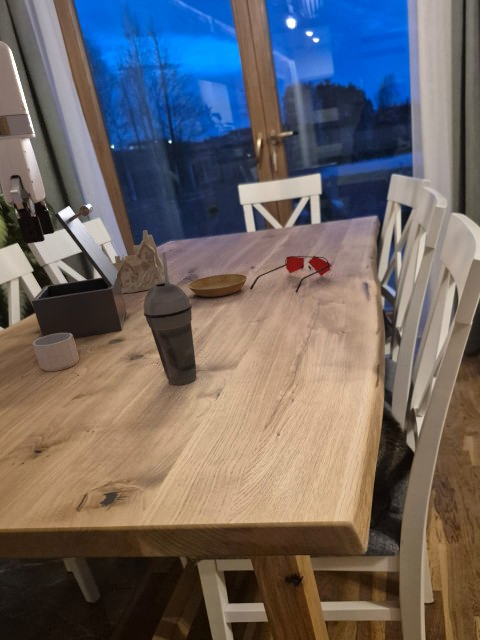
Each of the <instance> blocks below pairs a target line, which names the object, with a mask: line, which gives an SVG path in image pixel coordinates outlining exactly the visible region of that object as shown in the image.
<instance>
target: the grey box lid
mask: <svg viewBox="0 0 480 640" xmlns="http://www.w3.org/2000/svg"><path fill="white" fill-rule="evenodd" d="M93 211H94V207H93V205H91V203H84V204H82V205H80V206H79V209H78V212H77V213H75V212H74V211H73V209H72V207H70V205H68V206H67V207H64V208H63V209H62V210H59V211H58V212H57V213H55V214H54V217H55V218H56V220H57V221H58V222H59V224H60V225H61V226H62V227H63V228H64V230H65V231H66V233H67V234H68V235H69V237H70V238H71V240H73V242H74V243H75V244H76V245H77V247H78V249H79V250H80V251H81V252H82V253H83V255H84V256H85V257H86V259H87V261H89V263H90V264H91V265H92V267H93V268H94V269H95V271H96V272H97V273H98V274H99V276H100V278H103V280H104V281H105V282H106V284H107V285H108V286H109V287H112V286H113V284H114V281H115V279H116V276H117V274H118V271H117V270H116V268H115V267H114V266H113V263H112V261H111V260H110V259H109V258H108V256H107V255H106V254H105V252H104V251H103V250H102V248H101V247H100V245H99V244H98V242H97V241H96V240H95V238H93V236H92V235H91V234H90V232H89V231H88V229H87V227H85V225H84V224H83V223H82V221H81V220H80V219H79V217H81V216H82V217H87V216H89V215H90V214H91V213H92V212H93Z"/></svg>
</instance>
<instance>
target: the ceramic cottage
mask: <svg viewBox="0 0 480 640" xmlns="http://www.w3.org/2000/svg"><path fill="white" fill-rule="evenodd" d="M148 233H149V232H148V230H147V229H146V230H143V231H142V240H141V242H140V244H136V245H135V244H134V245H132V250H133V253H134V254H130V255H125V254H124V253H123V254H122V257H121V256H120V255H119V254H118V255H115V256H114V260H115V262H113V263H112V264H113V266H114V267H115V268H116V270H117V271H118V274H117V276H118V280H119V284H120V288H121V292H122V295H123V294H127V293H128V294H130V293H132V294H133V293H137V292H143V291H149V290H150V289H151V288H152V287H154V286H155V285H157V284H161V283H165V277H164V266H163V260H162V259H161V258H160V256H159V252H158V248H157V244H156V243H155V240H154V237H153V234H148ZM168 282H169V283H170V277H169V275H168Z"/></svg>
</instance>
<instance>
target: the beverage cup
mask: <svg viewBox="0 0 480 640" xmlns="http://www.w3.org/2000/svg"><path fill="white" fill-rule="evenodd" d="M162 264H163V267H164V277H165V283H161V284H157V285H155V286H154V287H152V288H151V289H150V290H147V293H146V295H145V297H144V301H143V316H144V317H145V320H146V322H147V324H148V327H149V328H150V330H151V333H152V337H153V340H154V343H155V347H156V350H157V353H158V356H159V359H160V361H161V365H162V367H163V371H164V374H165V376H166V378H167V381H168V382H167V383H169V385H171V384H172V385H171V386H184V385H187V383H188V384H191V383H193V382H195V381H196V380H197V378H198V377H197V364H196V354H195V346H194V345H195V344H194V337H193V329H192V319H193V317H192V313H193V312H192V309H193V306H192V304H191V301H190V298H189V297H188V295H187V293H186V291H184V289H182V287H180V286H179V285H176V284H174V283H171V282H170V281H169V282H168V276H169V273H168V262H167V252H162ZM195 379H196V380H195ZM192 381H193V382H192ZM183 384H184V385H183Z"/></svg>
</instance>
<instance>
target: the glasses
mask: <svg viewBox="0 0 480 640" xmlns="http://www.w3.org/2000/svg"><path fill="white" fill-rule="evenodd" d="M305 258H310V256H309V255H308V256H305V255H303V256H302V255H289V256H286V258H285V261H284V264H282V265H280V266H278V267H276V268H274V269H270V270H269V271H265V272H264V273H262V274H260V275H258V276H257V277H255V279H254V281H253V283H252V284H251V286H250V287H249V290H253V289H254V287H255V285H256V283H257V281H258V280H259V279H260V278H261V277H263V276H265V275H267V274H270V273H272V272H275V271H278V270H279V269H283V268H284V267H285V269H286V270H287V272H288V273H289V274H292V273H295V272H297V271H299V270H303V269H304V268H305ZM307 263H308V264H309V265H308V266H307V268H308V269H309V270H310V271H311V270H313V269H314V272H312V273H310V274H308V275H306V276H303V277H302V278H301V279H300V281H299V283H298V285H297V287H296V289H295V290H294V291H295V293H296V294H297V293H299V290H300V288H301V286H302V283H303V281H304V280H305V279H307V278H310V277H311V276H314V275H316V274H318V275H319V276H320V277H322V276H324V275H325V274H326V273H329V272H330V271H331V268H332V264H331V262H329V261H328V259H327V258H326V257H324V256H317V255H313V256H312V257H311V258H310V259H309V260H308V262H307Z"/></svg>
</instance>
